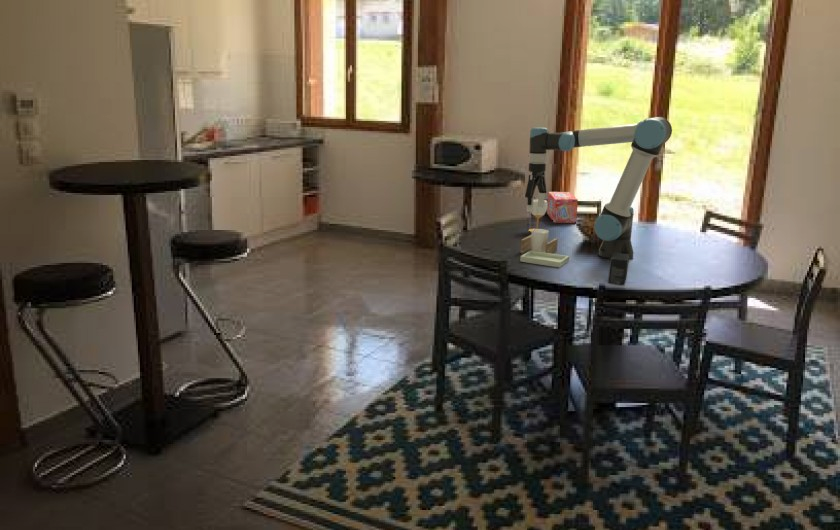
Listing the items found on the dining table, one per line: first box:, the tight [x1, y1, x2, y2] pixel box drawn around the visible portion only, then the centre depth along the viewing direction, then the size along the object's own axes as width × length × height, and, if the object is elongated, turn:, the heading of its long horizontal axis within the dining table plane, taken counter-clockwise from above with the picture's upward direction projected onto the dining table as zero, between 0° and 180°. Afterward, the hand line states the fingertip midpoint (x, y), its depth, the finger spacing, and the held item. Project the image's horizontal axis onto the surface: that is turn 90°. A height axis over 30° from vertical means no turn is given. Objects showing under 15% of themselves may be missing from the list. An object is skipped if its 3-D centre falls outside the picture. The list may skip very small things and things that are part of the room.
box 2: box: [607, 252, 630, 286], centre depth 270 cm, size 11×7×10 cm, turn 158°
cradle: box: [520, 234, 559, 254], centre depth 313 cm, size 13×12×6 cm
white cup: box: [530, 228, 550, 253], centre depth 313 cm, size 8×8×10 cm
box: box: [546, 191, 579, 224], centre depth 385 cm, size 27×13×14 cm, turn 178°
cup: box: [528, 198, 548, 233], centre depth 353 cm, size 9×9×16 cm
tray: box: [519, 249, 570, 268], centre depth 298 cm, size 18×12×2 cm, turn 60°
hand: (535, 209), depth 310 cm, fingers open, 13 cm apart
